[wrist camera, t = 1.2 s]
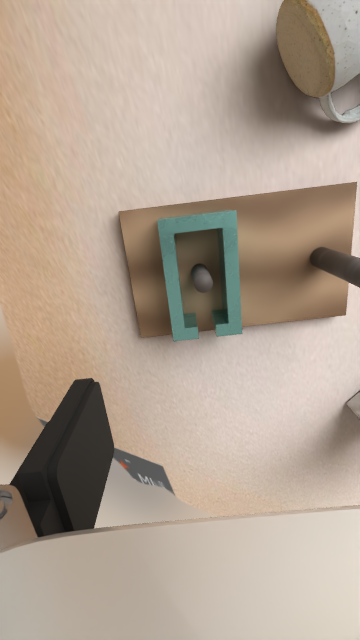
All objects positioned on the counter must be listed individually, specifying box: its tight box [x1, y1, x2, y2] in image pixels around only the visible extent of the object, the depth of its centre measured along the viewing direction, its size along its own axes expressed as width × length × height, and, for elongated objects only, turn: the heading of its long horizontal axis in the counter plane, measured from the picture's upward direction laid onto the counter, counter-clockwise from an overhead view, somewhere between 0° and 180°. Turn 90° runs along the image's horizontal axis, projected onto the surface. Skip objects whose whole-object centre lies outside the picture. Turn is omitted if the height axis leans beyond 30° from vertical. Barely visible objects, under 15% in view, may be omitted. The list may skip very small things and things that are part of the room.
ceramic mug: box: [276, 0, 360, 123], centre depth 22 cm, size 11×8×8 cm
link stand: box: [119, 182, 360, 338], centre depth 24 cm, size 13×22×16 cm, turn 97°
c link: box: [157, 209, 242, 341], centre depth 29 cm, size 11×6×4 cm, turn 7°
